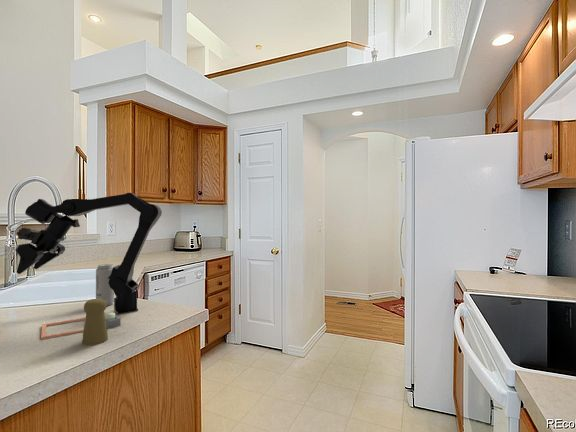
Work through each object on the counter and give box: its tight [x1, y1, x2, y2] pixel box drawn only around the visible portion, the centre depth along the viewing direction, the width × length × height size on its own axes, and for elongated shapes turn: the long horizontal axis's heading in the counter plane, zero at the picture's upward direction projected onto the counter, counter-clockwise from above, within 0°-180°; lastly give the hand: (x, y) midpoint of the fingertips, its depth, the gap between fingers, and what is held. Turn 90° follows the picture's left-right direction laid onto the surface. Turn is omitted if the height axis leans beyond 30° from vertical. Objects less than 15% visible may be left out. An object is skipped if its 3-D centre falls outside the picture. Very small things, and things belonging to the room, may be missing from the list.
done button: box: [105, 312, 116, 321], centre depth 96 cm, size 3×3×2 cm
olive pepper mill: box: [81, 298, 109, 346], centre depth 84 cm, size 6×6×11 cm
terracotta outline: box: [40, 316, 86, 341], centre depth 94 cm, size 13×13×1 cm
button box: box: [106, 314, 121, 329], centre depth 96 cm, size 5×5×2 cm
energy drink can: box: [95, 263, 115, 307], centre depth 119 cm, size 6×6×15 cm
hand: (26, 270), depth 105 cm, fingers open, 9 cm apart
